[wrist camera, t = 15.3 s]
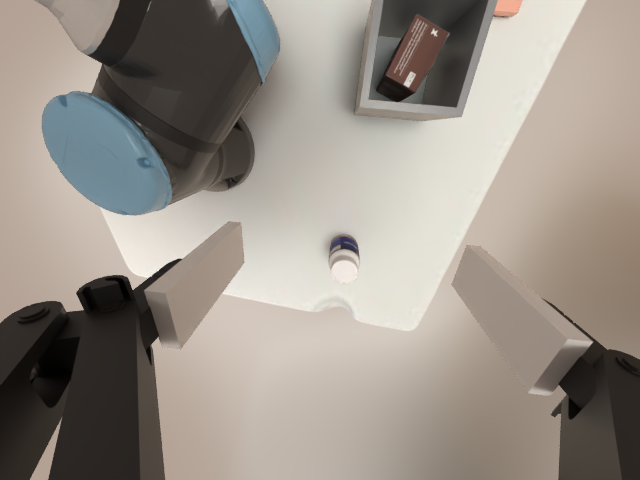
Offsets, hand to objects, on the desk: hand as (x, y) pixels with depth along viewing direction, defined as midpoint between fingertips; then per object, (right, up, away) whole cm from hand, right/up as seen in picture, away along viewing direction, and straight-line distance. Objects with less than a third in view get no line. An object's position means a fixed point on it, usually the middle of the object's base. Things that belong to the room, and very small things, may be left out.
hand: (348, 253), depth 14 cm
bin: (+10, +26, +22) cm, 35 cm away
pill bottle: (+3, -1, +35) cm, 35 cm away
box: (+10, +26, +22) cm, 36 cm away
